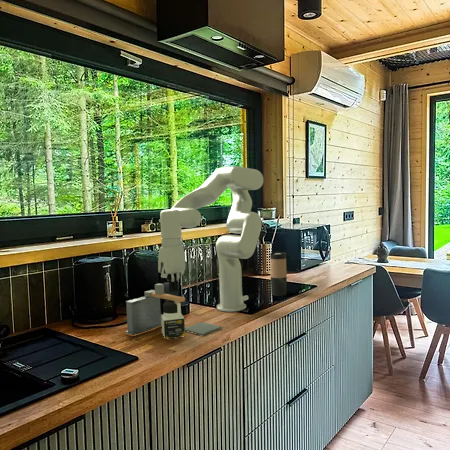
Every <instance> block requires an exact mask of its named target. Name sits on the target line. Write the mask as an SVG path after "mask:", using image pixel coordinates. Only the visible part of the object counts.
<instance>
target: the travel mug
mask: <svg viewBox="0 0 450 450" xmlns="http://www.w3.org/2000/svg"><path fill="white" fill-rule="evenodd" d="M269 257H270V258H269V259H270V260H269V261H270V263H269V264H270V267H269V269H270V288H271V295H272V296H274V297H283V296H286V295H287V286H288V285H287V284H288V283H287V281H288V280H287V279H288V277H287V276H288V273H287V272H288V271H287V253H286V252H283V251H273V252H270V253H269Z"/></svg>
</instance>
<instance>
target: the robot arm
mask: <svg viewBox="0 0 450 450" xmlns="http://www.w3.org/2000/svg"><path fill="white" fill-rule="evenodd" d="M263 184H264V176H263V174H262V172H261V171H259V170H258V169H255V168H249V167H244V166H238V165H235V166H234V165H233V166H232V165H230V166H222V167H221V166H220V167H219V168H217V169H215V170H214V171H213V172H212V173H211V174H210V176H208V177H207V179H206V180H205V181H204V182H203V183H202V184H201V185H200V186H199V187H197V188H195V189H194V190H193V191H191V192H189V193H188V194H186V195H183V197H181V198H180V199H179V200H178V201H177V202H176V203H175V204H174V205H173V206H172V207H171V208H170V209H163V210H161V211H160V213H159V214H160V215H159V217H160V218H159V219H160V236H161V238H160V239H161V246H160V247H159V250H158V251H159V252H158V258H157V259H158V262H157V263H158V264H157V265H158V267H157V270H158V273H160V274H161V275H160V277H161V278H163V279H164V278H165V279H166V280H167V282H168V289H169V290H168V291H169V292H173V293H176V292H179V283H178V281H179V280H180V277H181V276H182V275H183V274H185V270H186V255H185V249H184V246H183V241H184V240H183V238H182V237H183V236H182V228H189V229H191V228H195V227H197V226H199V224H201V222H202V213H200V211H199V210H198V209H201V208H204V207H207V206H209V205H212V204H214V203H215V202H217V200H218V199H219V198H220V196H222V194H223V193H224V192H226V190H227V189H229V188H230V192H231V194H232V199H233V200H232V204H231V207H230V211H229V214H228V217H227V219H226V227H225V228H226V229H227V231H228V232H230V233H232V234H222V235H221V236H220V237H218V238H217V240H216V242H215V250H216V255H217V261H218V272H219V273H218V274H219V275H218V279H219V303H218V304H216V309H217V310H218V311H221V312H225V313H226V312H227V313H230V312H232V313H233V312H240V311H244V310H245V309H246V308H247V304H246V303H245V301H247V300H249V295H243V286H242V285H243V282H242V280H243V279H242V278H243V276H242V264H241V261H240V260H241V259H242V260H243V259H244V260H246V259H249V258H251V257H252V256H253V255H254V253H255V250H256V247H257V244H258V241H259V238H260V233H261V232H262V231H261V230H262V219H261V218H262V217H261V216H260V214H258V213H257V212H254V211H252V206H253V200H252V197H251V195H250V193H249V191H256V190H259V189H261V187H262V186H263ZM238 234H240V235H238Z"/></svg>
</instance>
